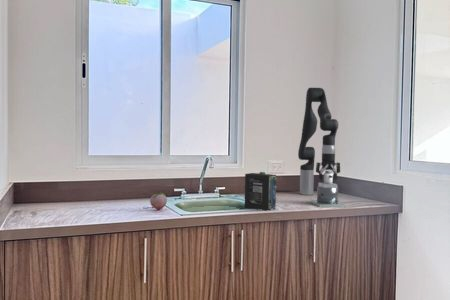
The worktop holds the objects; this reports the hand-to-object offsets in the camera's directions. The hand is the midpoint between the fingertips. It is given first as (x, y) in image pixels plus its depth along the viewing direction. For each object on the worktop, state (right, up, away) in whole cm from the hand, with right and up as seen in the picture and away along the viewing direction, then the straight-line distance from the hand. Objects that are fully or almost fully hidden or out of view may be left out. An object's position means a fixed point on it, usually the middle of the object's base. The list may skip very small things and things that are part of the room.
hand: (327, 180), depth 226 cm
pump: (0, -4, 0) cm, 4 cm away
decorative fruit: (-97, -14, -24) cm, 101 cm away
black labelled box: (-42, -15, -14) cm, 46 cm away
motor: (0, -15, +1) cm, 15 cm away
